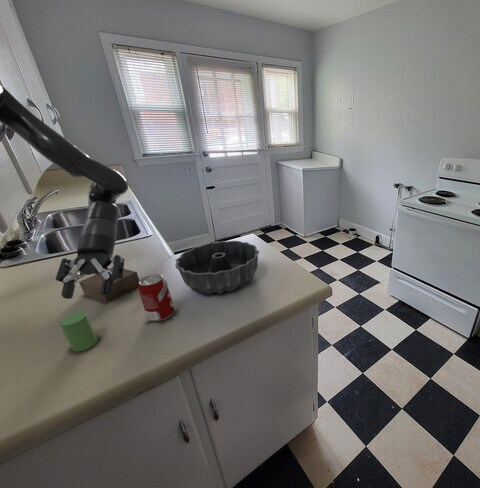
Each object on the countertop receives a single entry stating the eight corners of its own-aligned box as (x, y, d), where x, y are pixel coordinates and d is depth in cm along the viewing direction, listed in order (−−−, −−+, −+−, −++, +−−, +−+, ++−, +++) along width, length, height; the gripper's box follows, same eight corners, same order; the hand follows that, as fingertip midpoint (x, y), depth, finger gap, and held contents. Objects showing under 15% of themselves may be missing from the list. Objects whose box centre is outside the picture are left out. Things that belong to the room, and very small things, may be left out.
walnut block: (106, 302, 83) (101, 288, 81) (84, 295, 87) (78, 281, 85) (140, 284, 92) (136, 271, 90) (119, 278, 96) (114, 266, 94)
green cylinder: (80, 353, 64) (67, 327, 61) (68, 348, 66) (54, 322, 62) (101, 340, 68) (90, 314, 65) (89, 335, 70) (78, 310, 67)
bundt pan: (208, 260, 109) (204, 237, 105) (271, 265, 105) (269, 241, 101) (163, 298, 85) (155, 270, 81) (242, 306, 81) (238, 277, 77)
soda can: (158, 326, 73) (146, 288, 68) (142, 319, 76) (130, 282, 71) (180, 311, 79) (170, 276, 74) (164, 306, 81) (154, 271, 76)
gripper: (58, 234, 70) (41, 296, 64) (118, 230, 72) (107, 291, 66) (79, 244, 76) (66, 302, 71) (134, 241, 78) (125, 297, 73)
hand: (86, 296), depth 68 cm, fingers open, 8 cm apart
